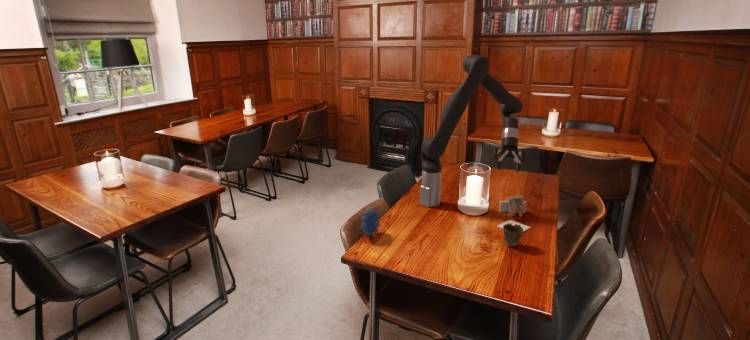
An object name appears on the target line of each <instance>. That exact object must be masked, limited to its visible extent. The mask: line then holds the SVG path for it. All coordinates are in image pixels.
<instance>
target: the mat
mask: <svg viewBox="0 0 750 340" xmlns="http://www.w3.org/2000/svg"><path fill="white" fill-rule="evenodd" d="M508 223H509V224H511V223H512V225H514V226H515V224H517V225H520V226H521V227H522V229H523V232H522V233H524V232H525V231H528V230H529V229H531V226H529V225H526V224H523V223H521V222H518V221H515V220H512V219H508V220H506V221H504V222H502V223H500V224H498V225H497V226H496V227H497V228H499V229H502V230H503V226H505V224H506V225H507V224H508Z"/></svg>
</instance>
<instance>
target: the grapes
mask: <svg viewBox="0 0 750 340" xmlns="http://www.w3.org/2000/svg"><path fill="white" fill-rule="evenodd" d="M379 219H380V214H379V213H377V210H375V209H373V208H372V209H367V210H366V211H365V214H363V215H362V217H361V220H362V221H363V222H361V224H360V227H361V228H362V232H363V234H364V235H365V236H366V235H367V236H369V237H372V236H373V235H374V234H375V233H377V232H378V228H379V226H380V224H381V223H380V221H379Z"/></svg>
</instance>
